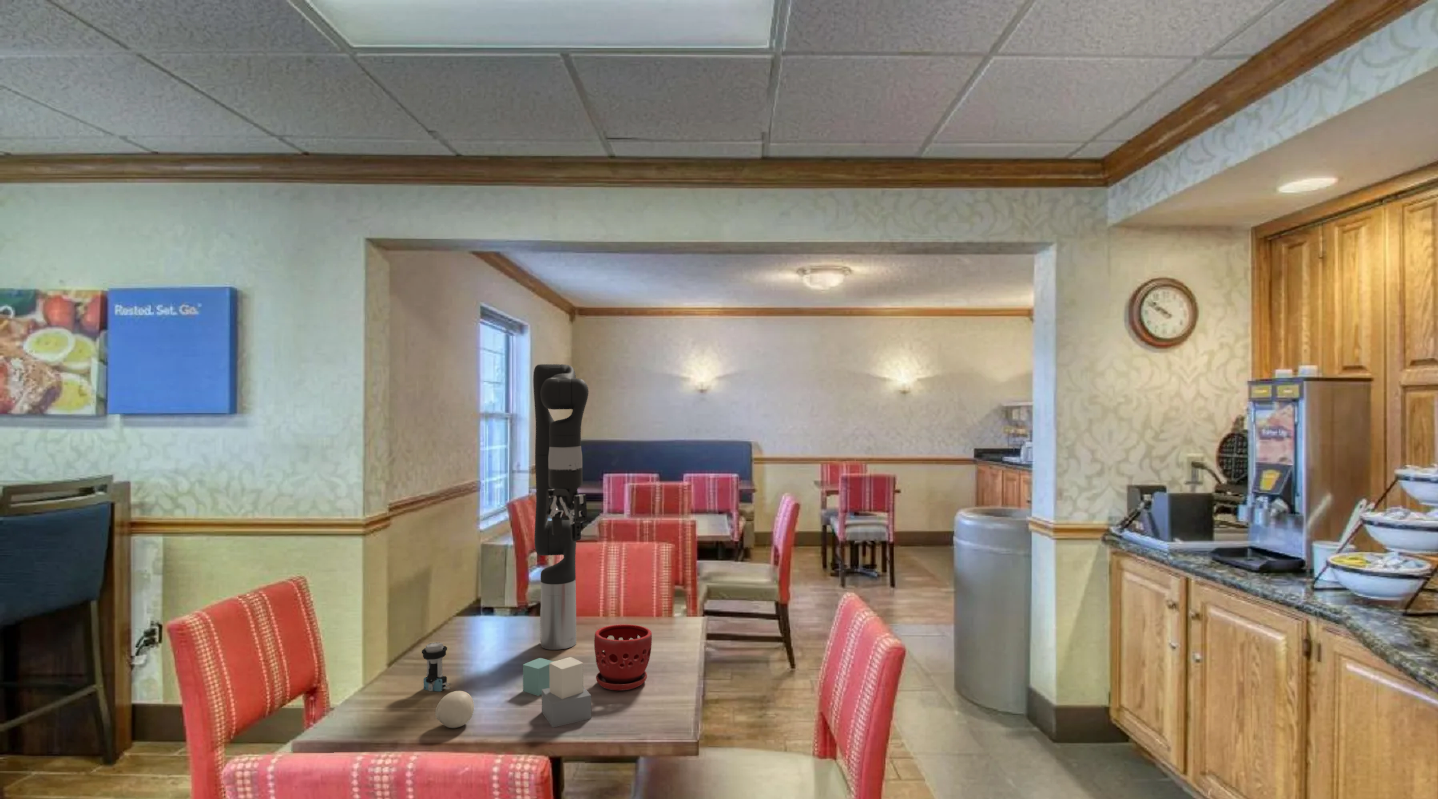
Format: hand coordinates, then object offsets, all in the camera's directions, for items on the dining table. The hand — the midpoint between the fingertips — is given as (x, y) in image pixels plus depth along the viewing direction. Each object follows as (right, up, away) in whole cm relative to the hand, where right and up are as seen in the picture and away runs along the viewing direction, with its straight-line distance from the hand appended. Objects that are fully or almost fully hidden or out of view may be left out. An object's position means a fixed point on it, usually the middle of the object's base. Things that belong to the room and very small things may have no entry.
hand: (566, 537), depth 159 cm
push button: (-29, -35, -1) cm, 45 cm away
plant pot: (+13, -34, +2) cm, 37 cm away
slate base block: (+3, -34, -15) cm, 37 cm away
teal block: (-6, -34, -1) cm, 35 cm away
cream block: (+3, -29, -14) cm, 33 cm away
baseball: (-18, -34, -19) cm, 43 cm away
